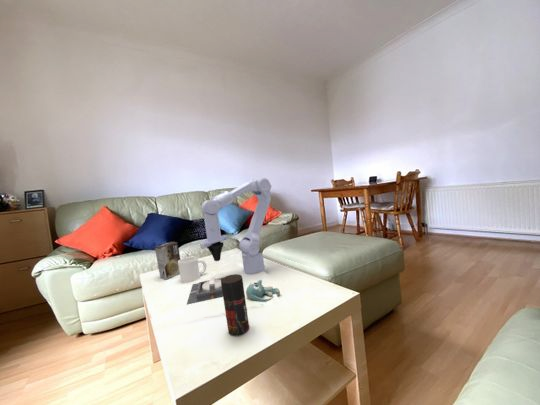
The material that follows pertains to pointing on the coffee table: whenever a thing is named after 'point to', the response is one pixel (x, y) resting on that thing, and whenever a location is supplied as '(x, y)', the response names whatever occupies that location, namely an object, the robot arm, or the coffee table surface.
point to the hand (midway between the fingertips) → (217, 260)
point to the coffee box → (168, 259)
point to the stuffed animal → (260, 291)
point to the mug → (190, 269)
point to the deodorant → (235, 304)
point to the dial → (212, 285)
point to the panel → (203, 293)
